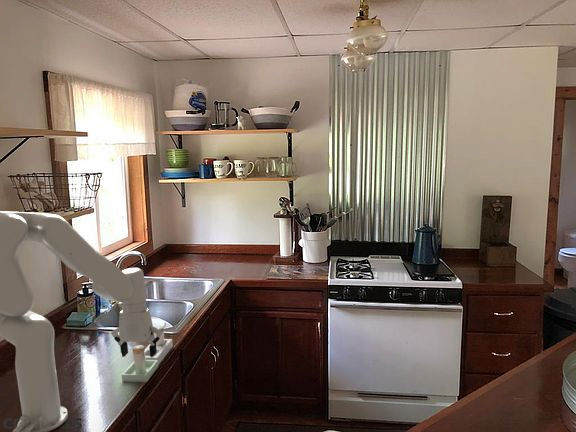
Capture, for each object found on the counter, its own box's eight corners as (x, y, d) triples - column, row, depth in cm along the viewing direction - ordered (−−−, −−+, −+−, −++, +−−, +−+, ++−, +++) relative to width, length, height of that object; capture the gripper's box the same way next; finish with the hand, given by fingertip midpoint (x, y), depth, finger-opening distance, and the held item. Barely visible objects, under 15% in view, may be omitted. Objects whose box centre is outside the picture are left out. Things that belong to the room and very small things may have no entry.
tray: (146, 382, 150) (145, 375, 150) (122, 381, 151) (121, 374, 150) (158, 366, 160) (157, 360, 160) (135, 366, 161) (135, 359, 160)
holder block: (157, 365, 161) (157, 357, 160) (138, 365, 162) (137, 357, 161) (172, 346, 176) (172, 339, 175) (155, 346, 176) (154, 338, 176)
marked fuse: (144, 375, 153) (141, 350, 152) (133, 375, 154) (130, 350, 152) (148, 369, 157) (146, 345, 155) (138, 369, 157) (135, 344, 156)
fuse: (163, 352, 171) (161, 329, 169) (153, 352, 171) (151, 329, 169) (167, 348, 174) (165, 325, 173) (157, 348, 175) (155, 325, 173)
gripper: (103, 310, 149) (108, 360, 152) (155, 310, 147) (159, 361, 150) (114, 302, 156) (119, 349, 159) (164, 302, 154) (168, 350, 157)
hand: (139, 355), depth 154 cm, fingers open, 9 cm apart
